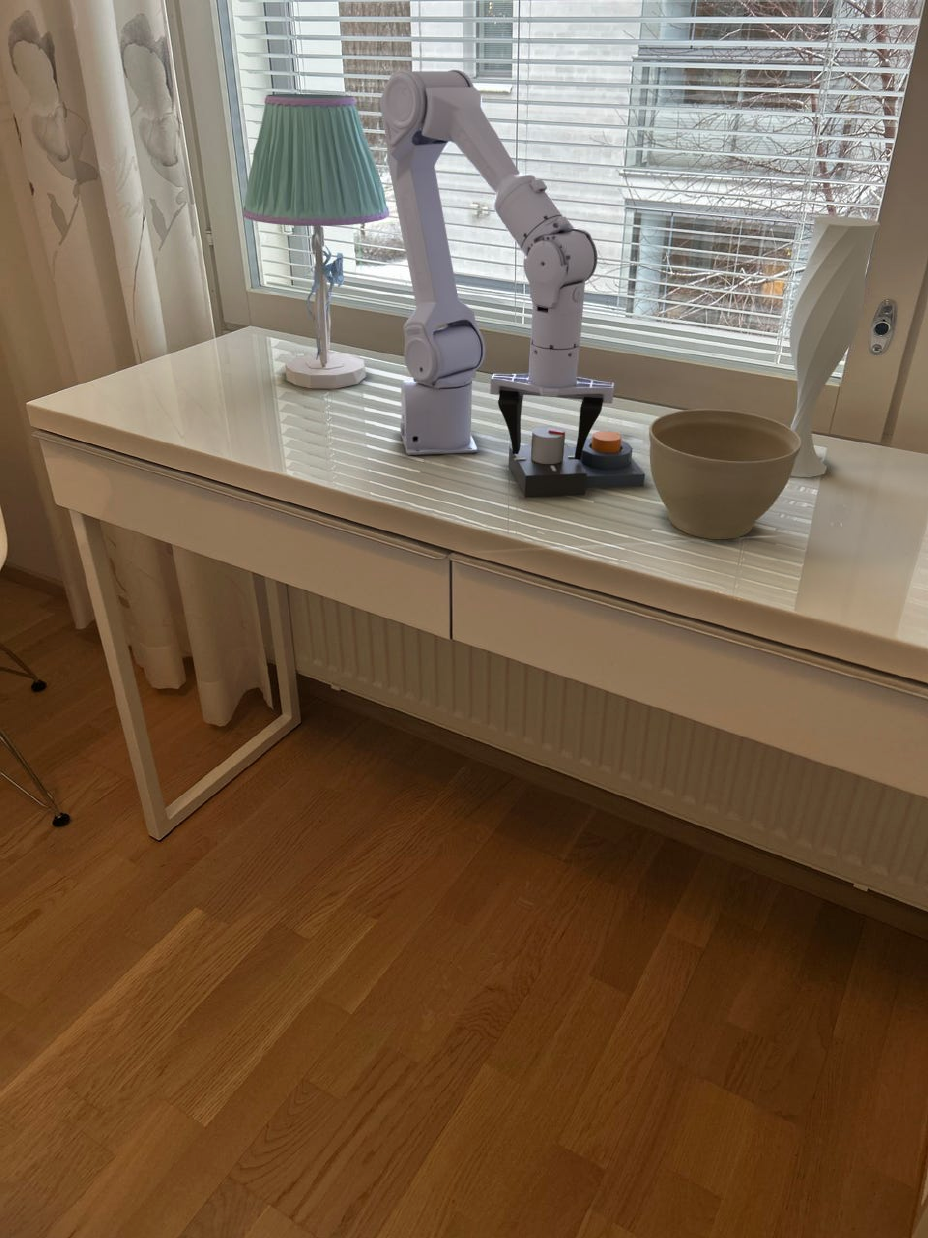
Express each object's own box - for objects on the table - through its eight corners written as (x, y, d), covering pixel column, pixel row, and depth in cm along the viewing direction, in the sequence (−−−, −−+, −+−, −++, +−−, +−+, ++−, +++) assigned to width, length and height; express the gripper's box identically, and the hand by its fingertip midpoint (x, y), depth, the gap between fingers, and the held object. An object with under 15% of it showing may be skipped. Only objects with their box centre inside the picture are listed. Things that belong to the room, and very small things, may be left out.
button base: (643, 486, 117) (647, 460, 115) (585, 489, 116) (587, 462, 114) (620, 456, 125) (622, 431, 123) (565, 458, 124) (567, 433, 122)
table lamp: (387, 399, 143) (380, 101, 123) (245, 396, 143) (214, 97, 123) (397, 359, 162) (393, 94, 141) (272, 356, 162) (249, 90, 141)
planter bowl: (634, 490, 115) (645, 405, 110) (768, 498, 114) (786, 412, 109) (642, 550, 102) (655, 455, 96) (794, 559, 101) (816, 464, 95)
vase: (791, 481, 119) (846, 228, 104) (746, 458, 125) (791, 217, 110) (841, 470, 123) (901, 224, 107) (794, 448, 129) (845, 213, 113)
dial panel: (587, 495, 114) (589, 471, 112) (521, 498, 113) (522, 474, 111) (567, 464, 122) (569, 441, 121) (505, 467, 121) (506, 444, 120)
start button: (623, 453, 117) (625, 440, 117) (595, 454, 117) (597, 441, 116) (615, 443, 120) (616, 430, 120) (588, 444, 120) (589, 431, 119)
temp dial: (526, 461, 115) (528, 432, 113) (536, 450, 118) (538, 422, 116) (558, 466, 114) (560, 437, 112) (566, 455, 117) (569, 426, 115)
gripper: (487, 347, 106) (483, 460, 113) (616, 357, 104) (604, 471, 111) (497, 332, 112) (493, 440, 119) (619, 340, 110) (607, 450, 117)
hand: (547, 454), depth 116 cm, fingers open, 7 cm apart
